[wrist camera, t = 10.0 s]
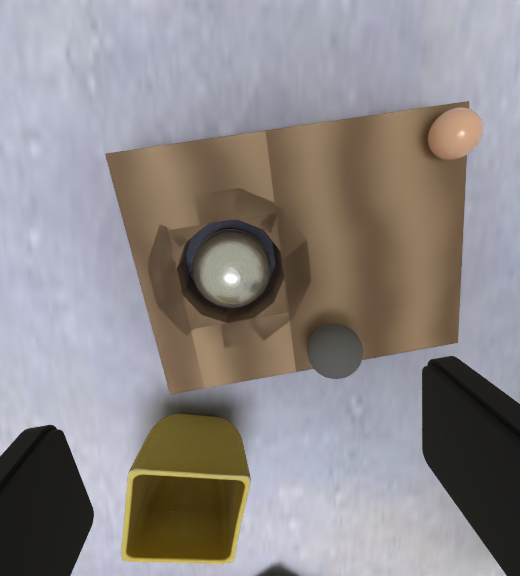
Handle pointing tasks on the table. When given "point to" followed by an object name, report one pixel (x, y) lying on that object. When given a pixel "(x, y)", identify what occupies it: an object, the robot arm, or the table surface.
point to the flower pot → (186, 493)
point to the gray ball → (334, 351)
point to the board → (300, 241)
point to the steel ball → (231, 268)
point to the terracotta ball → (455, 133)
